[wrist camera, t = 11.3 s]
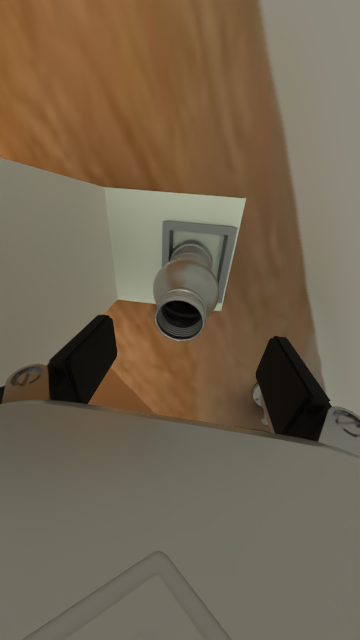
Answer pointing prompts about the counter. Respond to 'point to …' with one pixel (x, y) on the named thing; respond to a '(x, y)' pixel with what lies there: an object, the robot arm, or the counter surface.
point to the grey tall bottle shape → (185, 291)
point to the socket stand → (90, 253)
